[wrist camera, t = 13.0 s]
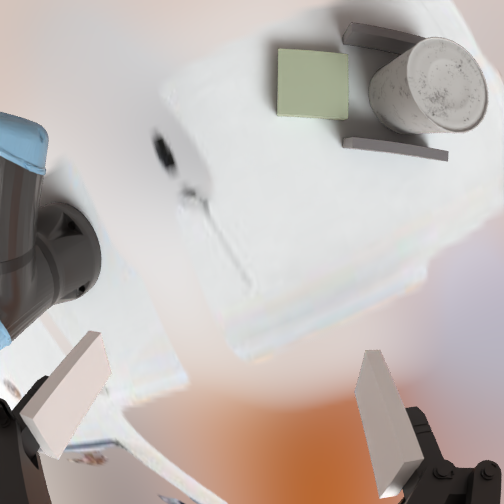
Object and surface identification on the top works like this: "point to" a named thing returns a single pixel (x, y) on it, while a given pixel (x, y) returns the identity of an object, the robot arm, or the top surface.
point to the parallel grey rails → (396, 44)
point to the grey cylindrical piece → (430, 90)
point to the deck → (312, 84)
